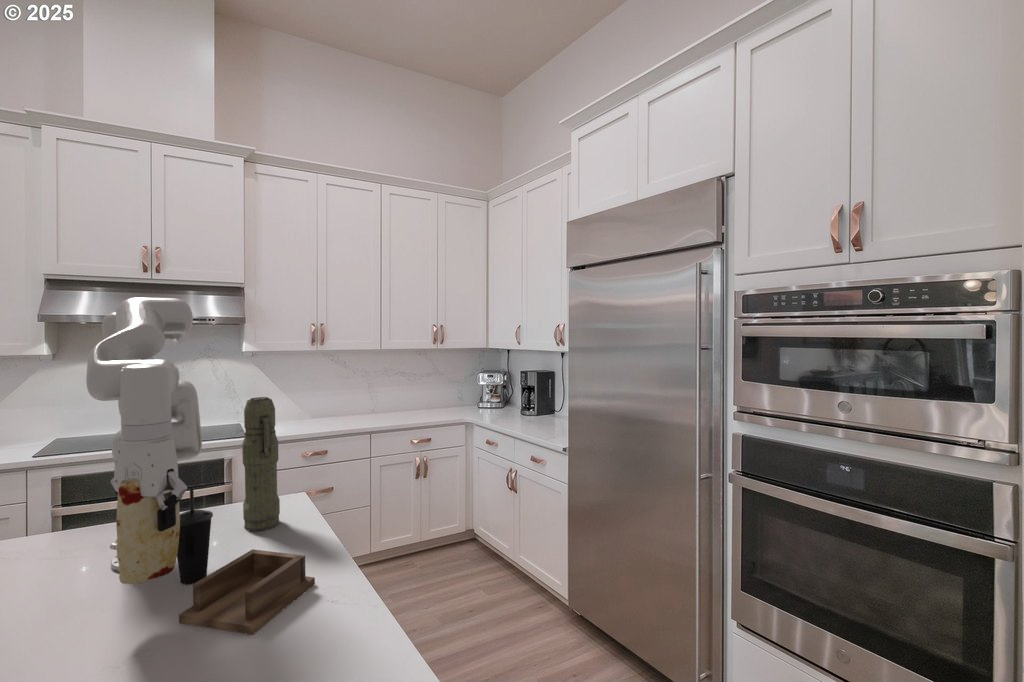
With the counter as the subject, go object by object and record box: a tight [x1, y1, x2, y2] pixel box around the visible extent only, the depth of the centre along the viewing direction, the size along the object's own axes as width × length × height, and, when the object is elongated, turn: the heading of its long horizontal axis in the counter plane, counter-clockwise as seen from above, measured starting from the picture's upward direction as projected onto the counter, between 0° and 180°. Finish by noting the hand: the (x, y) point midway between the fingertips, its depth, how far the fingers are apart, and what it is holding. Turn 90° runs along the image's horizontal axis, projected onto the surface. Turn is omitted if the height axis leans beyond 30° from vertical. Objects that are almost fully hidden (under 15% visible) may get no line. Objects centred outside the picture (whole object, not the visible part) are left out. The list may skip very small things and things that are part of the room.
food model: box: [115, 479, 181, 585], centre depth 94 cm, size 10×7×20 cm
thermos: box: [241, 396, 281, 532], centre depth 139 cm, size 9×12×35 cm
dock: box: [178, 549, 316, 636], centre depth 101 cm, size 16×18×6 cm
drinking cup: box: [176, 486, 214, 586], centre depth 110 cm, size 8×8×20 cm
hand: (149, 525), depth 94 cm, fingers closed on food model, 7 cm apart
